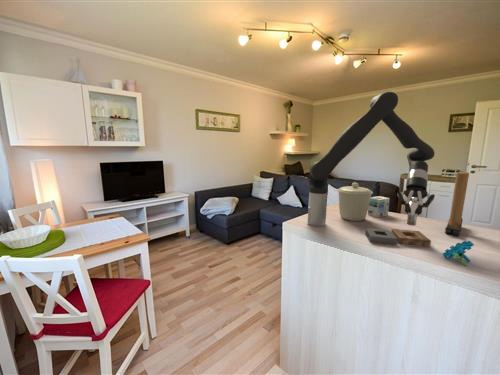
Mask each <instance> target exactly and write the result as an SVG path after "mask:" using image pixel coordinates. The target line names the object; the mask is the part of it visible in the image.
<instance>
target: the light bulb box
mask: <svg viewBox="0 0 500 375" xmlns="http://www.w3.org/2000/svg"><path fill="white" fill-rule="evenodd" d="M389 207H390V197H385V196H381V195H379V196H371V198H370V202H369V207H368V211H367V215H368V216H371V217H374V218H380V217H385V216H389V209H390V208H389Z"/></svg>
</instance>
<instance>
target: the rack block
mask: <svg viewBox="0 0 500 375" xmlns="http://www.w3.org/2000/svg"><path fill="white" fill-rule="evenodd" d="M390 231H391V232H392V233H393V234H394V236H395V237H396V238H397V243H398V245H401V246H402V245H404V246H410V247H411V246H413V247H422V248H431V243H432V240H431V239H430V238H428V237H427V236H426V235H424V234H423V233H422V232H421V231H419V230H410V229H400V228H399V229H397V228H391V230H390Z"/></svg>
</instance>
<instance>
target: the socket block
mask: <svg viewBox="0 0 500 375" xmlns="http://www.w3.org/2000/svg"><path fill="white" fill-rule="evenodd" d="M364 232H365V233H364V235H365V236H366V238H367V240H368V242H369V243H370V244H380V245H390V246H397V243H398V242H397V238H396V237H395V236H394V234H393V233H392V232H391V230H390V229H389V230H388V229H379V228H367V227H365V231H364Z"/></svg>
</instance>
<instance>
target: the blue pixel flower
mask: <svg viewBox="0 0 500 375" xmlns="http://www.w3.org/2000/svg"><path fill="white" fill-rule="evenodd" d="M473 246H474V243H473V242H472V241H471V240H469V241H468V240H467V241H466V240H464V241H461V242H458V243H455V245H451V246H449V249H448V248H446V249H445V250H444V252H443V253H442V256H443V257H444V258H445V259H446V258H448V259H452V258H453V257H455V260H457V262H459V261H460V263H461V264H463V266H464V267H467V266H468V264H467V263H469V262H471V260H470V258H469V257H468V256H467V255H466V253H467V251H469V250H471V249H472V247H473ZM466 250H467V251H466ZM463 259H464V260H465V261H466V262H465V261H464V260H463Z"/></svg>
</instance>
